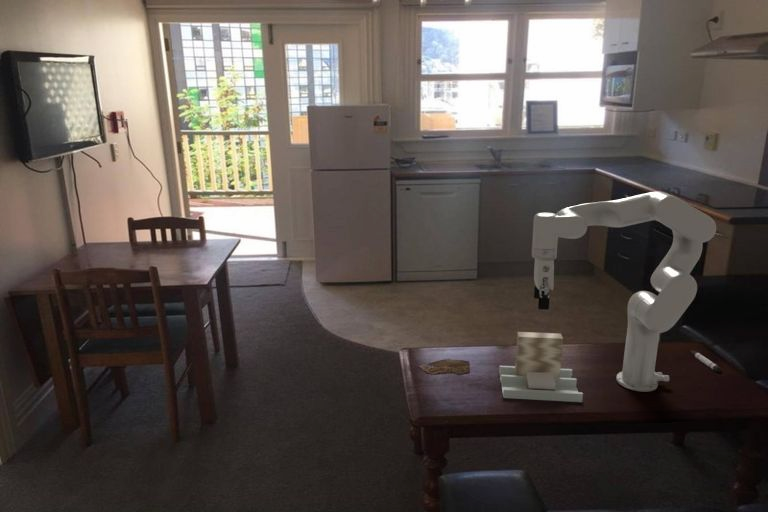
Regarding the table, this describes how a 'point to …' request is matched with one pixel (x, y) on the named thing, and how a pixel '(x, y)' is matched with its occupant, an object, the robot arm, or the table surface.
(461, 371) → the brown ridged slab
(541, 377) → the grey offcut
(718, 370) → the marker
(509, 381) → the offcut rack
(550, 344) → the birch sheet
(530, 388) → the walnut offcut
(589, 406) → the table surface
